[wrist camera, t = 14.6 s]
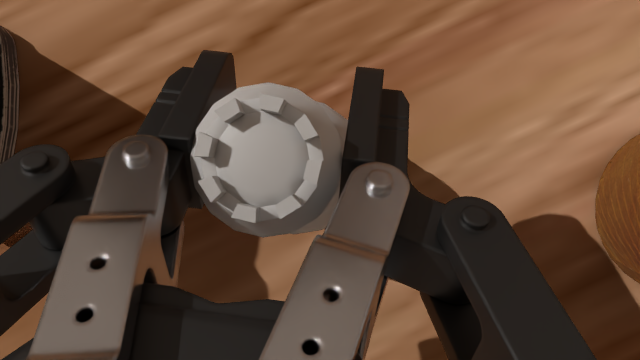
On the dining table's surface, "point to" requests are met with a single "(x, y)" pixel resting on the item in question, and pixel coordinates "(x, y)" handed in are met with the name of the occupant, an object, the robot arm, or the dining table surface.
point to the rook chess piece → (269, 160)
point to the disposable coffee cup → (621, 208)
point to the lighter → (8, 95)
